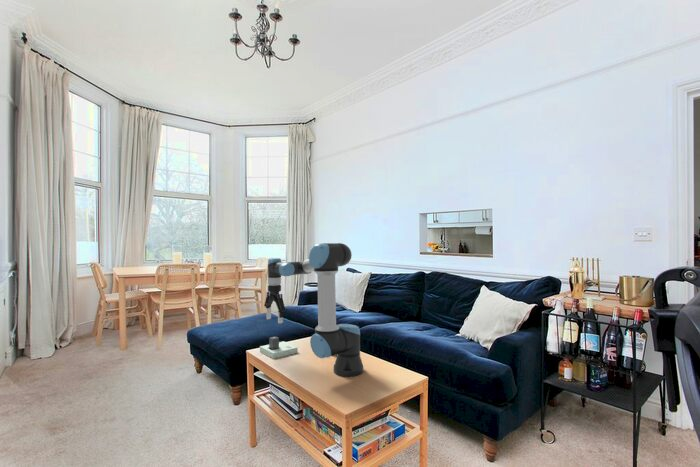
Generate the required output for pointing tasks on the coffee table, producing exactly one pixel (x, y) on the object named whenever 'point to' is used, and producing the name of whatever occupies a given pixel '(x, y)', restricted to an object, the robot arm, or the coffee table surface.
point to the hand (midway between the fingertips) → (274, 321)
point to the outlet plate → (279, 350)
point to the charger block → (273, 343)
